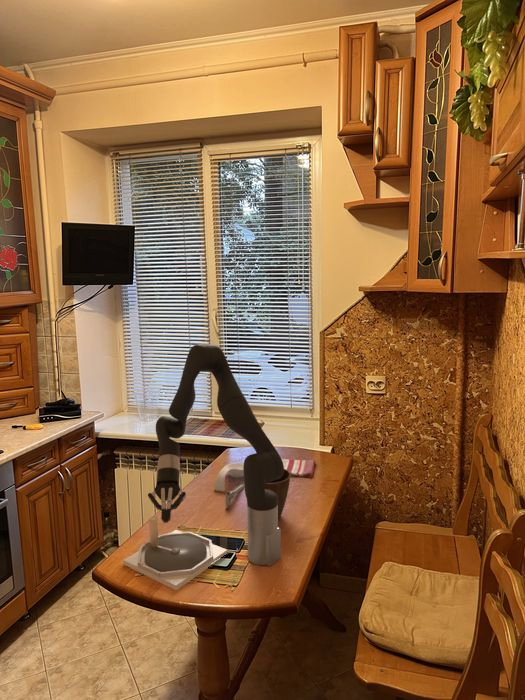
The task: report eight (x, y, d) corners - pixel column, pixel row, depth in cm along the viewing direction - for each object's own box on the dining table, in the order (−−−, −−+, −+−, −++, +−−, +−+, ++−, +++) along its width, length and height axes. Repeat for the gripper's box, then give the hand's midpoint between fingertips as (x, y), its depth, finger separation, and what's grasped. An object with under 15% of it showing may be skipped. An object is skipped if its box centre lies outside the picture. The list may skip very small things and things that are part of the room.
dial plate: (227, 554, 159) (227, 545, 159) (176, 590, 142) (175, 580, 141) (176, 533, 172) (175, 525, 172) (123, 564, 154) (123, 555, 154)
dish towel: (312, 479, 216) (312, 473, 216) (257, 475, 220) (257, 469, 220) (315, 464, 233) (315, 458, 232) (264, 461, 237) (264, 455, 236)
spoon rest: (232, 468, 228) (232, 452, 227) (256, 472, 224) (256, 456, 222) (206, 489, 206) (206, 472, 205) (233, 494, 202) (232, 477, 201)
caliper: (228, 509, 189) (228, 493, 188) (225, 509, 190) (225, 493, 189) (244, 486, 209) (244, 472, 208) (242, 486, 209) (241, 471, 208)
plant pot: (254, 530, 174) (253, 485, 171) (243, 510, 188) (243, 468, 185) (296, 524, 178) (296, 480, 175) (283, 505, 192) (282, 464, 189)
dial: (218, 546, 161) (217, 516, 159) (184, 578, 144) (183, 545, 143) (168, 533, 169) (167, 505, 167) (131, 563, 152) (129, 531, 151)
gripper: (147, 467, 172) (143, 519, 162) (187, 465, 173) (185, 517, 163) (150, 475, 178) (146, 526, 168) (188, 474, 179) (187, 524, 169)
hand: (165, 522), depth 165 cm, fingers closed
